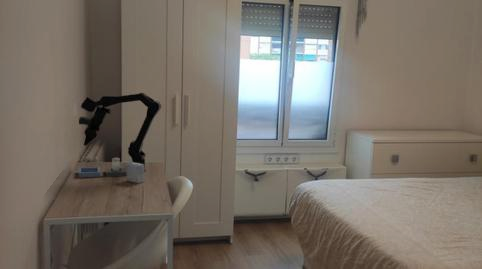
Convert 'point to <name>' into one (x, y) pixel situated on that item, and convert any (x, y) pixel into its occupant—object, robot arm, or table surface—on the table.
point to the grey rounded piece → (115, 164)
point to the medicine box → (135, 172)
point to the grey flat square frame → (116, 172)
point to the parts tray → (89, 172)
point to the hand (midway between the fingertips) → (85, 142)
